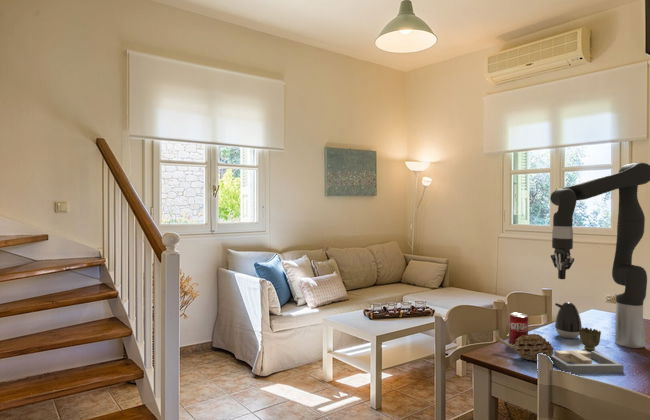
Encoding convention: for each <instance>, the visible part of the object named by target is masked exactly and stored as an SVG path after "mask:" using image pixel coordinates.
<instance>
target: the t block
mask: <svg viewBox="0 0 650 420" xmlns="http://www.w3.org/2000/svg"><path fill="white" fill-rule="evenodd" d="M553 352H554V354H553V355H554V356H556V357H558V358H559V359H561V360H563V361H564V362H566V363H569V362H570V363H572V364H593V361H592V358H591V352H590V351H588V350H553Z"/></svg>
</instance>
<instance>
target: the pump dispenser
mask: <svg viewBox="0 0 650 420" xmlns="http://www.w3.org/2000/svg"><path fill="white" fill-rule="evenodd" d="M555 306H556V307H558V308H559V310H558V311H557V313H556V317H555V322H554V328H555V329H556V332H557V334H558V335H559V336H561V337H562V338H566V339H572V340H573V339H576V338H578V337H580V333H579V328H580V330H582V327H583V326H582V320H581V316H580V313H579V311H578V309H577V307H576V305H575V304H574V303H572V302H569V301H565V302H563V303H562V304H560V303H557V302H555Z"/></svg>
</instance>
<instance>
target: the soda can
mask: <svg viewBox="0 0 650 420" xmlns="http://www.w3.org/2000/svg"><path fill="white" fill-rule="evenodd" d="M522 335H523V336H524V335H526V336H528V335H529V316H528V315H527V314H525V313H520V312H511V313H510V314H509V315H508V343H509V344H510V343H511V344H513V345H515V342H516V339H518V338H519V337H521V336H522Z"/></svg>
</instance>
